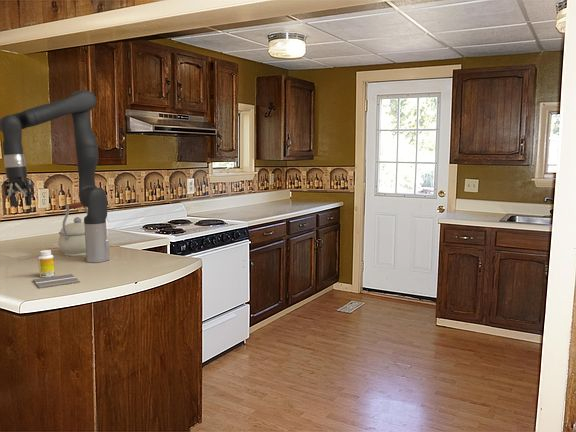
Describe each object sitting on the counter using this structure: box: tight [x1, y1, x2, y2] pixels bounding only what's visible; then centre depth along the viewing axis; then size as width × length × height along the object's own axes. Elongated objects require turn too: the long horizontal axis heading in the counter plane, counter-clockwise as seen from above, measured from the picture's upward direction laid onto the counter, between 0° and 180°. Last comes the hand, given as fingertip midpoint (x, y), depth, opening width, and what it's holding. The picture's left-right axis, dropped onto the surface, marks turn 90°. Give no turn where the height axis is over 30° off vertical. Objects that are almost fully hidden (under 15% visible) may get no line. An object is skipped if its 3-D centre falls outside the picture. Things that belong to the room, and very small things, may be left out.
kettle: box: [58, 201, 88, 257], centre depth 251 cm, size 25×18×25 cm
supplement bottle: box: [37, 249, 56, 278], centre depth 204 cm, size 6×6×10 cm
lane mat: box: [32, 273, 81, 289], centre depth 195 cm, size 14×14×1 cm
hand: (21, 205), depth 209 cm, fingers open, 8 cm apart
